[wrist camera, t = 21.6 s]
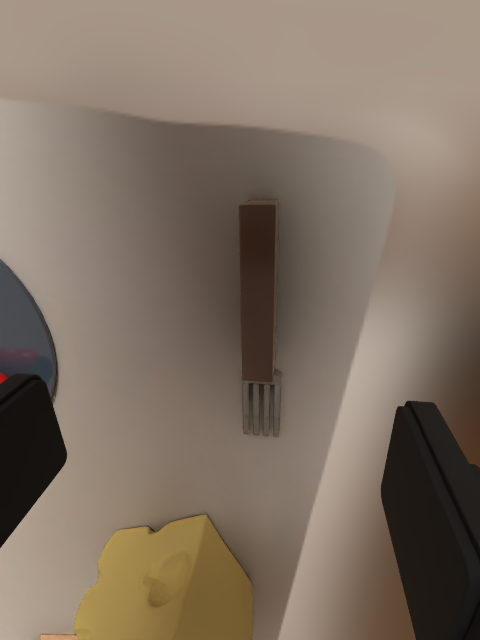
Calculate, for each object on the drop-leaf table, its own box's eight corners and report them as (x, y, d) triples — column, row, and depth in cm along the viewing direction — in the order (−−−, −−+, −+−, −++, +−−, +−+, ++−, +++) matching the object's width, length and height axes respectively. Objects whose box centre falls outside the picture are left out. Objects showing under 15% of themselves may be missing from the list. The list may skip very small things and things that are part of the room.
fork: (244, 429, 26) (237, 461, 23) (240, 200, 20) (230, 204, 17) (279, 432, 26) (276, 465, 23) (286, 199, 19) (284, 204, 17)
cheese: (113, 528, 33) (43, 662, 24) (212, 507, 30) (174, 654, 21) (166, 597, 36) (121, 739, 27) (261, 585, 33) (246, 742, 24)
